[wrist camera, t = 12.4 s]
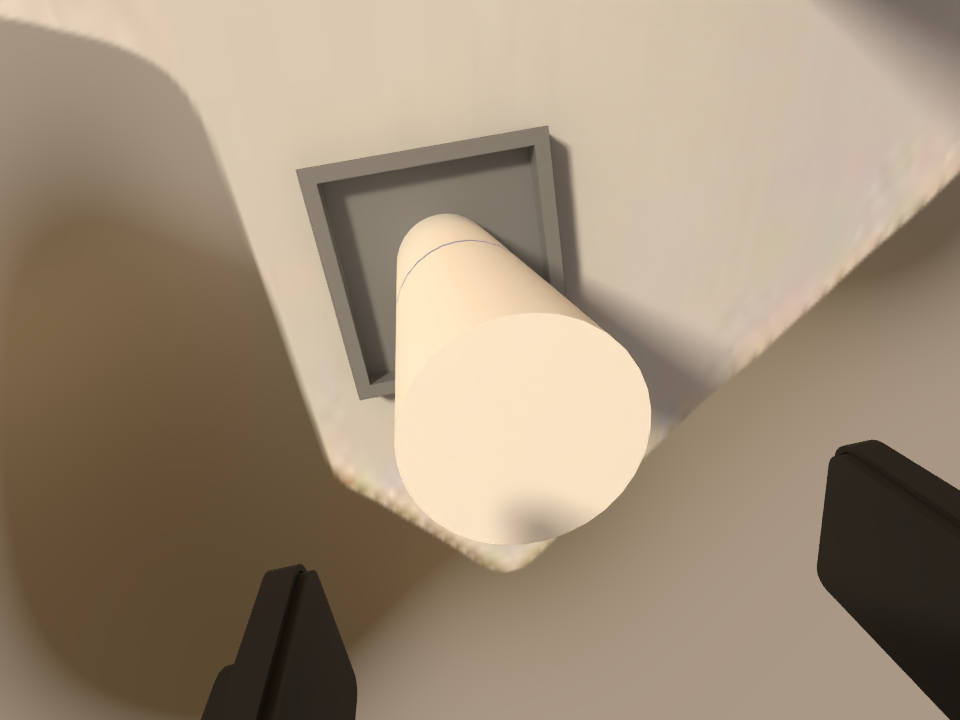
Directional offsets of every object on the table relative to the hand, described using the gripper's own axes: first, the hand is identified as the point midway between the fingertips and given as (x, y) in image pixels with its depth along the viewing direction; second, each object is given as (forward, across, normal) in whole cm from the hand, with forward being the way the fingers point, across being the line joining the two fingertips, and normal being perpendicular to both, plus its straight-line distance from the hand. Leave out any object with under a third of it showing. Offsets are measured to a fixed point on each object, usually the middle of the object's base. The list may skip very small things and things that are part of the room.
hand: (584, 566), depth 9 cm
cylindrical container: (+30, 0, +1) cm, 30 cm away
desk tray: (+31, +1, +1) cm, 31 cm away
